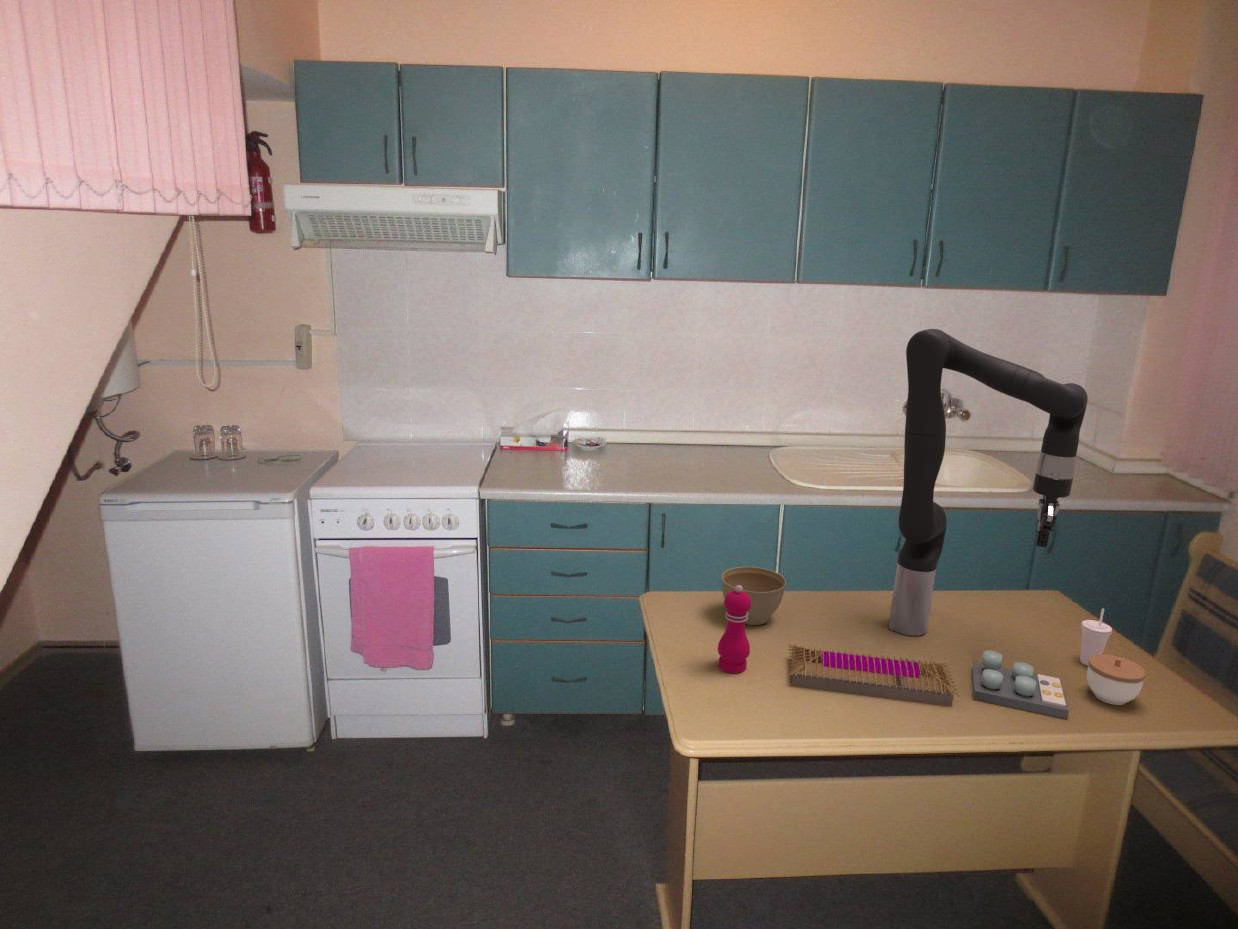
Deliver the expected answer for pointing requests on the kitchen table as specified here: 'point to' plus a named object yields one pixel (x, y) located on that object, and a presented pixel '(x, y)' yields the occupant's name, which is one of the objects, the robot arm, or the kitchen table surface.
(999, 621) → the kitchen table surface
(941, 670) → the rafter model
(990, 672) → the button near left
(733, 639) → the pepper mill
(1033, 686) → the button near right
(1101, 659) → the lidded jar
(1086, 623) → the smoothie
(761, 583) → the planter bowl
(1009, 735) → the kitchen table surface
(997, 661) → the button far left
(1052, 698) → the button board
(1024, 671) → the button far right
